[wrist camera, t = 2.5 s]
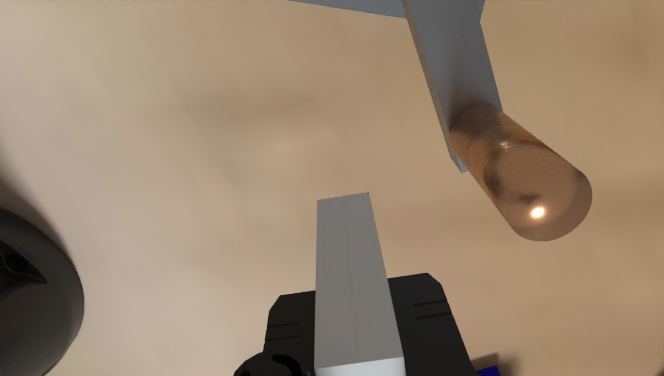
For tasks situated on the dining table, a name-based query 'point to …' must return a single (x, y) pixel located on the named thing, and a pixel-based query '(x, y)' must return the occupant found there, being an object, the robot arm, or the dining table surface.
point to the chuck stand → (375, 6)
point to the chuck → (492, 126)
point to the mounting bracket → (489, 371)
